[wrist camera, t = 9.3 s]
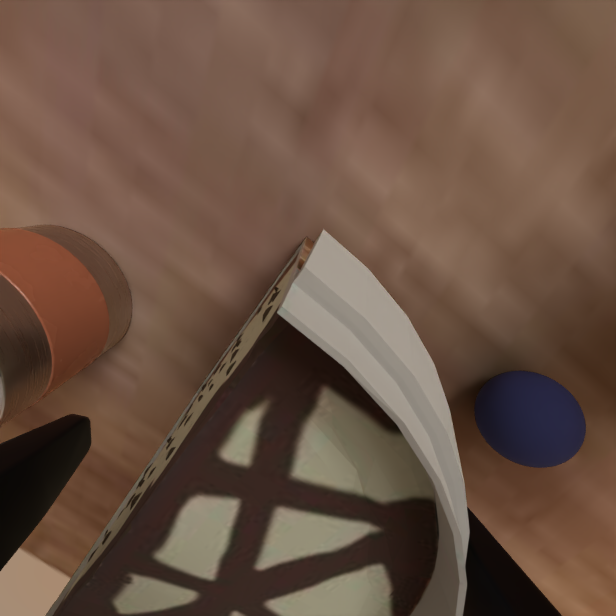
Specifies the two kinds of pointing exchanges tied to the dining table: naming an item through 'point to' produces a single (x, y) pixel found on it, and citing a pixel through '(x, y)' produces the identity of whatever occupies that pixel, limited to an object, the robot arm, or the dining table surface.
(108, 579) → the food container
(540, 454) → the blue ball
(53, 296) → the tin can
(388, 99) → the dining table surface
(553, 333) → the dining table surface
